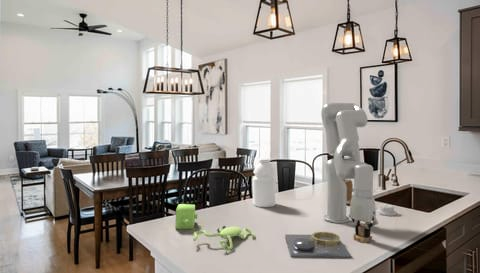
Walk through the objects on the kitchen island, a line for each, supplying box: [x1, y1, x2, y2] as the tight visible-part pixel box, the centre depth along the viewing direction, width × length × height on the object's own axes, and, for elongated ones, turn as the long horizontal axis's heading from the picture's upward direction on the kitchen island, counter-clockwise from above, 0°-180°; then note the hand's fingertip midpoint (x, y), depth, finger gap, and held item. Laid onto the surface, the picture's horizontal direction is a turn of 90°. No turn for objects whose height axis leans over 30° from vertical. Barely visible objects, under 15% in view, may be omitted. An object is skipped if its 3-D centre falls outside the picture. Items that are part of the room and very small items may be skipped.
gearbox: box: [175, 203, 199, 230], centre depth 160 cm, size 18×10×10 cm, turn 4°
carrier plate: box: [284, 231, 351, 258], centre depth 133 cm, size 20×22×4 cm
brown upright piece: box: [342, 179, 354, 205], centre depth 202 cm, size 15×12×15 cm
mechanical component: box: [376, 204, 397, 217], centre depth 181 cm, size 10×4×10 cm
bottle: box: [252, 157, 277, 208], centre depth 200 cm, size 14×14×28 cm
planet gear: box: [352, 225, 373, 244], centre depth 141 cm, size 8×8×6 cm
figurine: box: [193, 225, 256, 254], centre depth 140 cm, size 18×27×6 cm
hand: (362, 235), depth 141 cm, fingers closed on planet gear, 3 cm apart
